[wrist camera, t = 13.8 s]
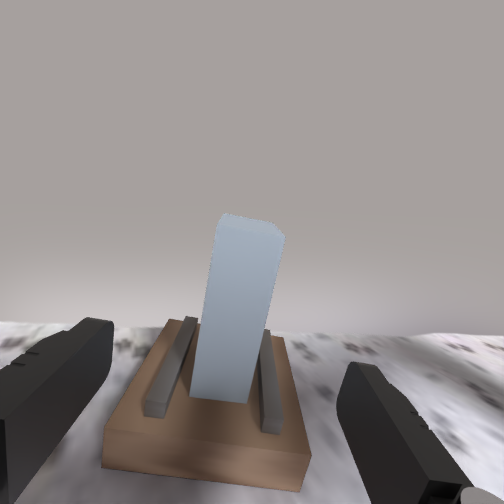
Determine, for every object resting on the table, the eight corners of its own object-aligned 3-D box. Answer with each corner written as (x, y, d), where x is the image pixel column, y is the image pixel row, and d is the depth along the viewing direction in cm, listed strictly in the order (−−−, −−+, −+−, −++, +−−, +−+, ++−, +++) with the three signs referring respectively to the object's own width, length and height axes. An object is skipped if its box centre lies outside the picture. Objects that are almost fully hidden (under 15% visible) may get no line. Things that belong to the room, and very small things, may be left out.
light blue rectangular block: (245, 349, 23) (272, 222, 20) (246, 403, 17) (285, 237, 14) (201, 343, 23) (222, 213, 20) (187, 396, 17) (215, 224, 14)
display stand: (276, 361, 27) (285, 327, 26) (299, 492, 15) (316, 439, 14) (166, 344, 26) (170, 308, 25) (101, 467, 15) (105, 410, 14)
